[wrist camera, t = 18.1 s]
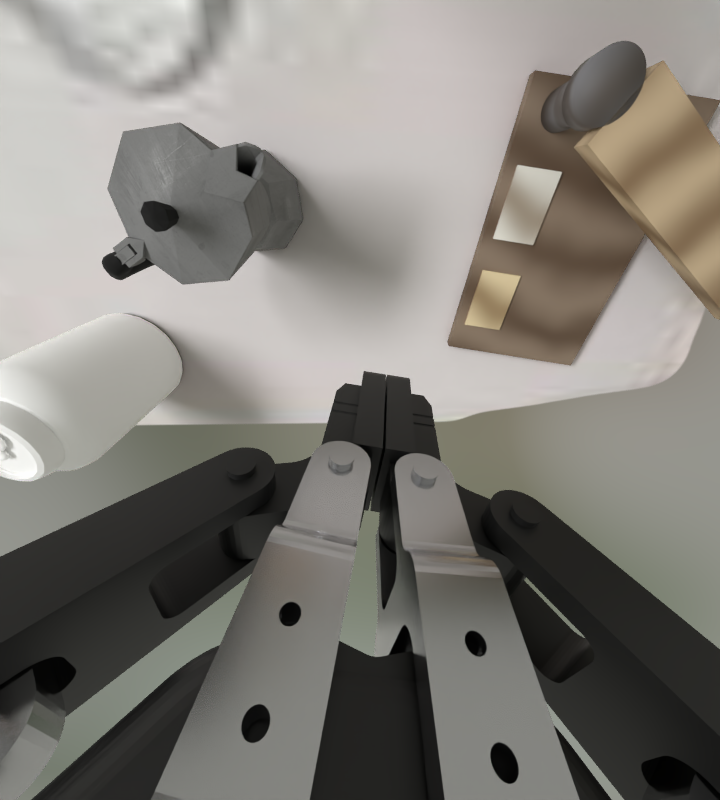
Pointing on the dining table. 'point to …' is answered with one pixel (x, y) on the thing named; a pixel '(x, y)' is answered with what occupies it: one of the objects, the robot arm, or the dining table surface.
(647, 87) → the swing arm
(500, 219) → the label board
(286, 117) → the dining table surface
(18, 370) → the white jar
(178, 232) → the coffeepot
